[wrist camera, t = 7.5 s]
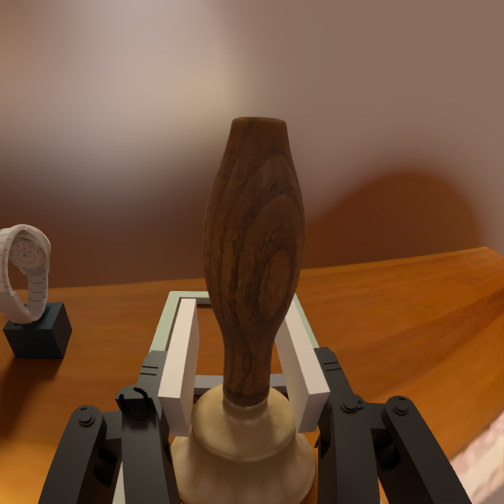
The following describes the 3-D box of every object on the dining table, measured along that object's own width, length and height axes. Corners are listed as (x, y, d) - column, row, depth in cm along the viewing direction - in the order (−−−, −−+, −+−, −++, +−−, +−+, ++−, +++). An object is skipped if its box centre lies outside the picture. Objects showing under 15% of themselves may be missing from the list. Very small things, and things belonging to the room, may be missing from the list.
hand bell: (329, 430, 14) (402, 146, 8) (286, 543, 7) (520, 104, 1) (211, 394, 17) (201, 133, 11) (140, 481, 10) (14, 139, 4)
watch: (75, 318, 23) (52, 212, 19) (59, 372, 16) (14, 240, 12) (33, 320, 21) (6, 219, 17) (10, 370, 14) (-38, 248, 10)
